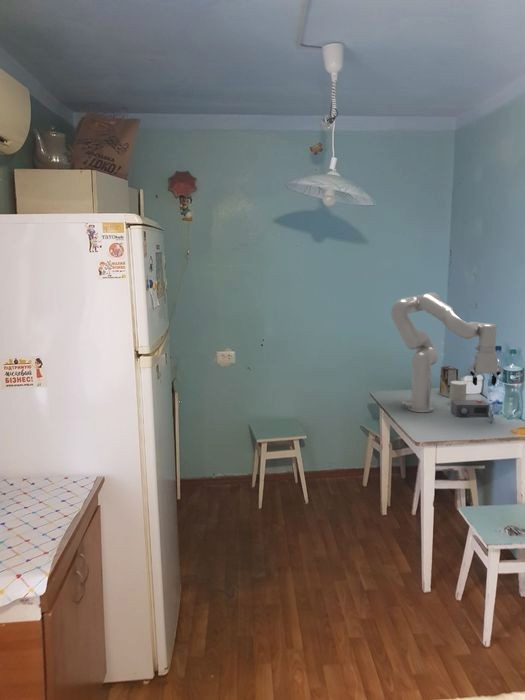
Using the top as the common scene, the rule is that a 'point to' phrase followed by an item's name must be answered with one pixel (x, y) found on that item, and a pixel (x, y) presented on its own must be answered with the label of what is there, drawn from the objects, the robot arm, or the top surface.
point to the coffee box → (447, 379)
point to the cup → (457, 390)
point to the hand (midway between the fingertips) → (484, 384)
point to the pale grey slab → (491, 412)
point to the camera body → (470, 408)
